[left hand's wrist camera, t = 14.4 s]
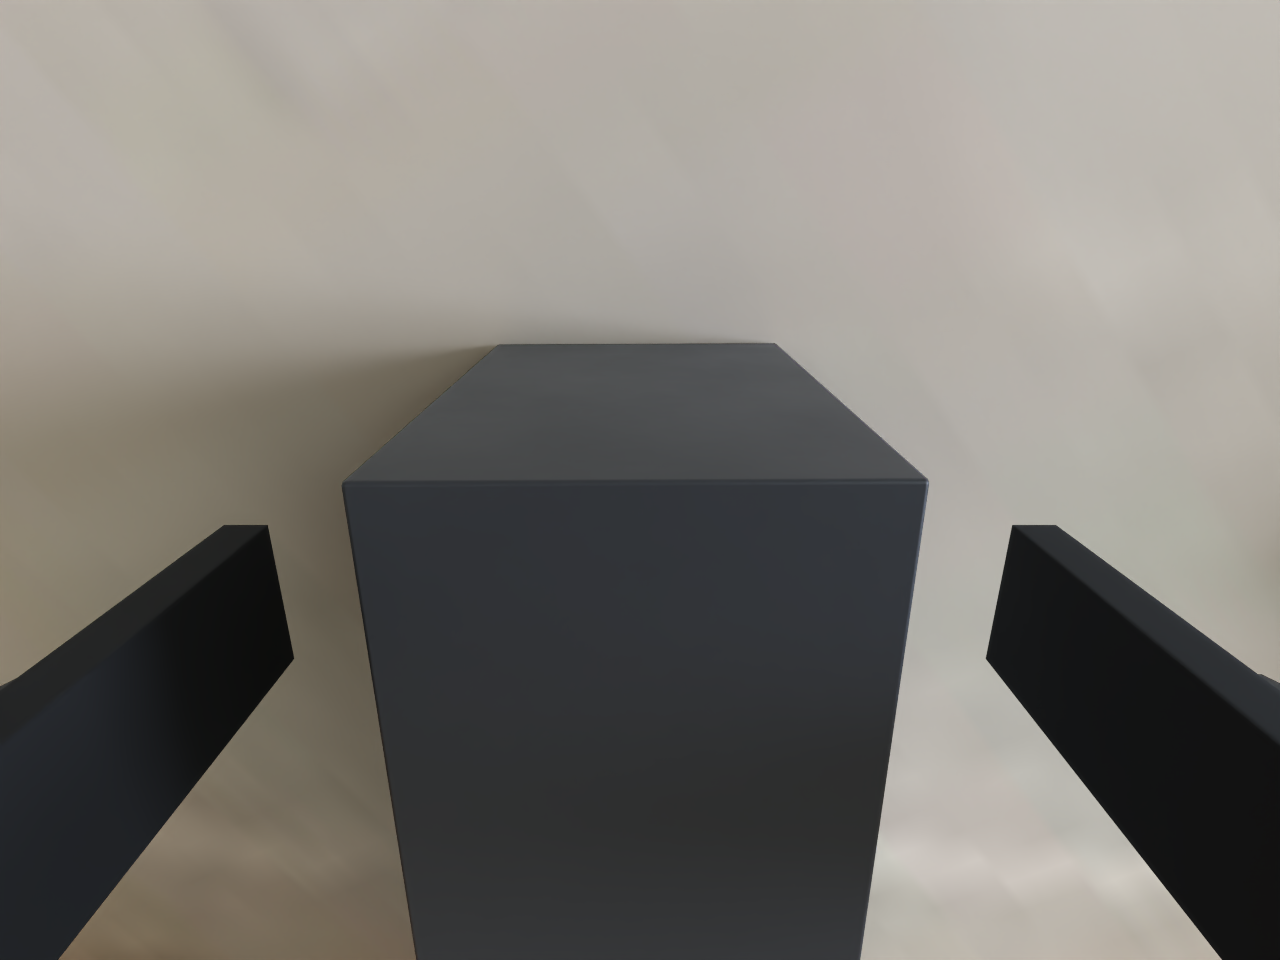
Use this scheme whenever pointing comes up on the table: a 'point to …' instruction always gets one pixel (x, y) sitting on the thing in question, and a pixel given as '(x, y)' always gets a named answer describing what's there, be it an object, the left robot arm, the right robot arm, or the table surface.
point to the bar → (636, 653)
